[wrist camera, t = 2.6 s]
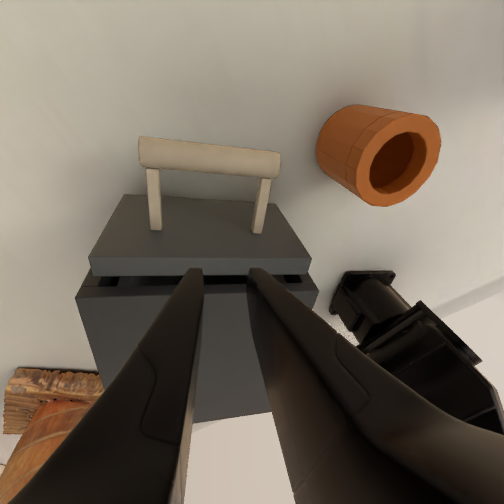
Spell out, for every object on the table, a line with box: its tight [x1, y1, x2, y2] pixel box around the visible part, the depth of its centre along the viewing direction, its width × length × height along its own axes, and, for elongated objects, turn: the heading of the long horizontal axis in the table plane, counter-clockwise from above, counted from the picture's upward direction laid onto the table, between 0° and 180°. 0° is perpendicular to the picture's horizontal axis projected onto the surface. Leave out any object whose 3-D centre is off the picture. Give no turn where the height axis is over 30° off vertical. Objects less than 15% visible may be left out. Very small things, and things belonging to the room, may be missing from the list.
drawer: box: [88, 136, 312, 286], centre depth 18 cm, size 18×11×8 cm, turn 171°
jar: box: [316, 105, 441, 207], centre depth 18 cm, size 5×5×6 cm
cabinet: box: [75, 268, 319, 424], centre depth 21 cm, size 15×13×10 cm
